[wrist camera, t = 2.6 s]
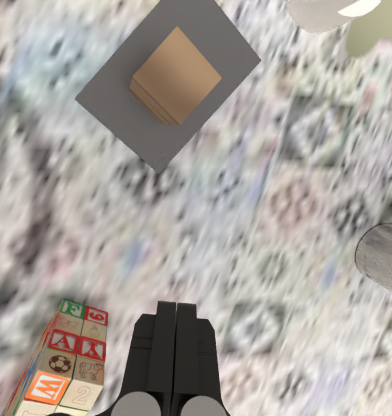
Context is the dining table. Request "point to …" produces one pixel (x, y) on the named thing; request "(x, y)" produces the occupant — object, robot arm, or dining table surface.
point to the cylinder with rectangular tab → (327, 12)
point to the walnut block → (173, 79)
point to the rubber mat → (139, 53)
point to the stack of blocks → (64, 365)
